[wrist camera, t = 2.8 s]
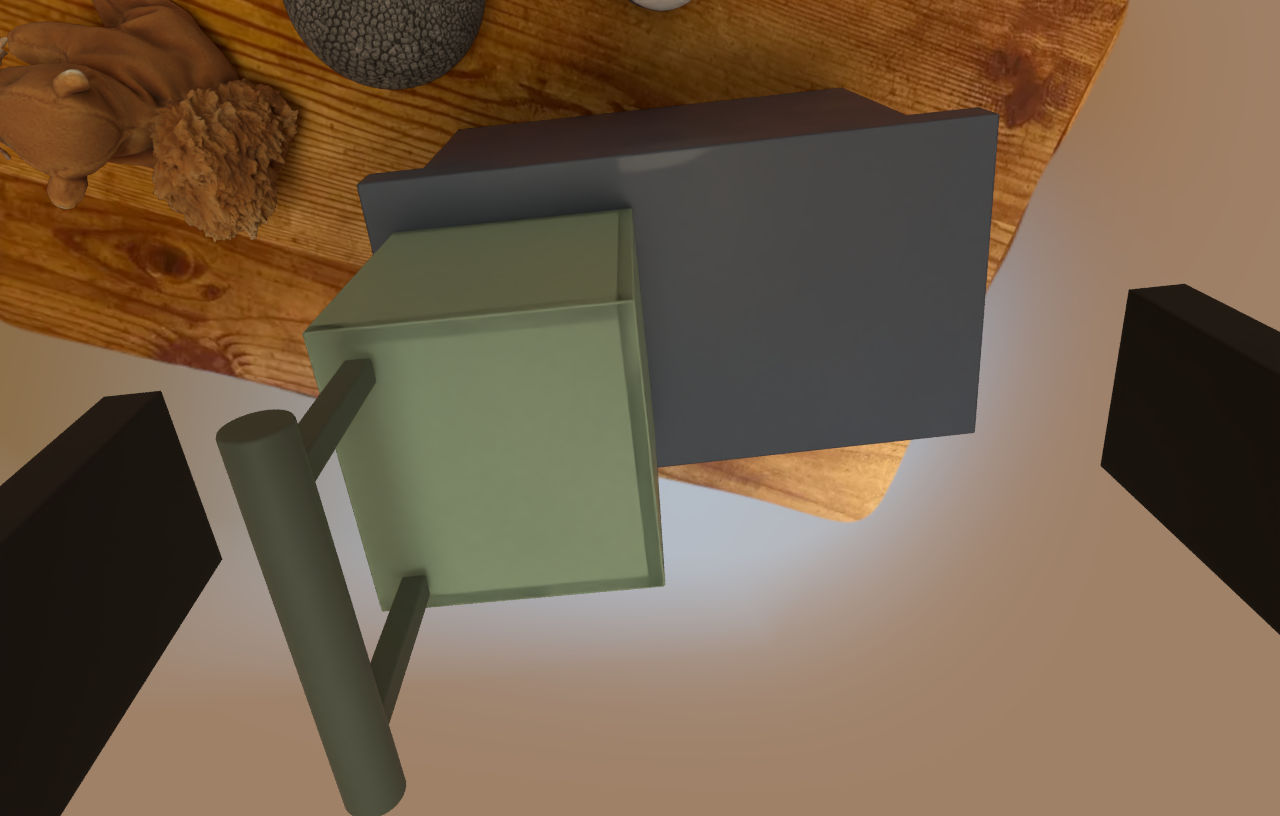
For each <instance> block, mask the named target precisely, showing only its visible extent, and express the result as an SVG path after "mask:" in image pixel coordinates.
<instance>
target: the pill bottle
mask: <svg viewBox="0 0 1280 816" xmlns="http://www.w3.org/2000/svg"><path fill="white" fill-rule="evenodd" d="M629 1H630V2H632V3H634V4H636V5H638V6H640V7H643V8H647V9H650V10H656V11H667V10H672V9H676V8H678V7H681V6H683V5H685V4H687V3H688V2H690V1H691V0H629Z"/></svg>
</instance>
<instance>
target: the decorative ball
mask: <svg viewBox="0 0 1280 816" xmlns="http://www.w3.org/2000/svg"><path fill="white" fill-rule="evenodd" d="M283 2H284V5H285V8H286V10H287V13H288V15H289V17H290V20H291V22H292V24H293V26H294V27H295V29H296V31H297V33H298V34H299V36H300V37H301V38H302V40H303V41H304V42H305V44H306V45H307V46H308V47H309V49H310V50H311V51H312V52H313V53H314V54H315V55H316V56H317V57H318V58H319V59H320V60H322V61H323V62H324V63H325V64H326V65H328V66H329V67H330V68H332V69H333V70H334V71H336V72H337V73H339V74H341V75H342V76H344V77H346V78H348V79H350V80H352V81H355V82H357V83H360V84H363V85H366V86H370V87H374V88H380V89H391V90H395V89H407V88H413V87H417V86H421V85H424V84H426V83H429V82H431V81H433V80H436V79H437V78H439V77H441V76H443V75H444V74H445V73H447V72H448V71H449V70H451V69H452V68H453V67H454V66H455V65H456V64H457V63H458V62H459V61H460V60H461V59H462V58H463V57H464V55H465V54H466V53H467V51H468V50H469V48H470V47H471V45H472V44H473V42H474V40H475V38H476V36H477V34H478V31H479V28H480V25H481V22H482V18H483V14H484V8H485V0H283Z"/></svg>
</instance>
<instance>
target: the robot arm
mask: <svg viewBox="0 0 1280 816" xmlns="http://www.w3.org/2000/svg"><path fill="white" fill-rule="evenodd" d="M1101 467H1102V468H1104V469H1105V470H1106V471H1107V472H1108V473H1109V474H1110V475H1111V476H1112V477H1113V478H1114V479H1115V480H1117V482H1118V483H1120V484H1121V485H1122V486H1123V487H1124V488H1125V489H1126V490H1127V491H1128V492H1129V493H1130V494H1131V495H1132V496H1134V498H1135V499H1136V500H1138V501H1139V502H1140V503H1141V504H1142V505H1143V506H1144V507H1145V508H1146V509H1147V510H1148V511H1149V512H1150V513H1151V514H1152V515H1153V516H1154V517H1155V518H1157V519H1158V520H1159V521H1160V522H1161V523H1162V524H1163V525H1164V526H1165V527H1166V528H1167V529H1168V530H1169V531H1170V532H1171V533H1172V534H1174V535H1175V536H1176V537H1177V538H1178V539H1179V540H1180V541H1181V542H1182V543H1183V544H1184V545H1185V546H1186V547H1187V548H1188V549H1189V550H1190V551H1192V552H1193V553H1194V554H1195V555H1196V556H1197V557H1198V558H1199V559H1200V560H1201V561H1202V562H1203V563H1204V564H1205V565H1206V566H1208V567H1209V568H1210V569H1211V570H1212V571H1213V572H1214V573H1215V574H1216V575H1217V576H1218V577H1219V578H1220V579H1221V580H1222V581H1223V582H1224V583H1226V584H1227V585H1228V586H1229V587H1230V588H1231V589H1232V590H1233V591H1234V592H1235V593H1236V594H1237V595H1238V596H1239V597H1240V598H1241V599H1242V600H1243V601H1245V602H1246V603H1247V604H1248V605H1249V606H1250V607H1251V608H1252V609H1253V610H1254V611H1255V612H1256V613H1257V614H1258V615H1259V616H1261V617H1262V618H1263V619H1264V620H1265V621H1266V622H1267V623H1268V624H1269V625H1270V626H1271V627H1272V628H1273V629H1274V630H1275V631H1276V632H1277V633H1278V634H1280V332H1279V331H1277V330H1275V329H1273V328H1271V327H1269V326H1267V325H1265V324H1263V323H1261V322H1259V321H1257V320H1255V319H1253V318H1251V317H1249V316H1247V315H1245V314H1243V313H1241V312H1239V311H1237V310H1235V309H1233V308H1231V307H1230V306H1228V305H1226V304H1224V303H1222V302H1220V301H1218V300H1216V299H1214V298H1212V297H1210V296H1208V295H1206V294H1204V293H1202V292H1200V291H1198V290H1196V289H1194V288H1192V287H1190V286H1188V285H1186V284H1179V285H1169V286H1160V287H1150V288H1140V289H1131V290H1129V292H1128V298H1127V304H1126V311H1125V317H1124V323H1123V329H1122V336H1121V342H1120V348H1119V354H1118V361H1117V367H1116V373H1115V379H1114V386H1113V392H1112V398H1111V404H1110V410H1109V416H1108V423H1107V429H1106V435H1105V441H1104V448H1103V454H1102V460H1101ZM221 560H222V557H221V555H220V552H219V549H218V546H217V543H216V541H215V538H214V535H213V533H212V530H211V527H210V524H209V521H208V519H207V516H206V513H205V510H204V508H203V505H202V502H201V499H200V497H199V494H198V491H197V488H196V486H195V483H194V481H193V478H192V475H191V472H190V469H189V466H188V464H187V461H186V458H185V455H184V453H183V450H182V447H181V444H180V442H179V439H178V436H177V434H176V431H175V428H174V425H173V422H172V420H171V417H170V414H169V411H168V409H167V406H166V403H165V400H164V398H163V395H162V392H161V391H155V392H145V393H136V394H127V395H117V396H107V397H103V398H102V399H101V400H100V401H99V402H97V403H96V404H95V405H94V406H93V407H92V408H90V409H89V410H88V411H87V412H86V413H85V414H84V415H82V416H81V417H80V418H79V419H78V420H76V421H75V422H74V423H73V424H72V425H71V426H70V427H68V428H67V429H66V430H65V431H64V432H63V433H61V434H60V435H59V436H58V437H57V438H56V439H54V440H53V441H52V442H51V443H50V444H49V445H47V446H46V447H45V448H44V449H43V450H42V451H40V452H39V453H38V454H37V455H36V456H35V457H33V458H32V459H31V460H30V461H29V462H28V463H27V464H25V465H24V466H23V467H22V468H21V469H20V470H18V471H17V472H16V473H15V474H14V475H13V476H11V477H10V478H9V479H8V480H7V481H6V482H5V483H3V484H2V485H1V486H0V816H61V814H62V812H63V811H64V809H65V808H66V806H67V805H68V803H69V801H70V800H71V798H72V796H73V795H74V793H75V792H76V790H77V788H78V787H79V786H80V784H81V782H82V781H83V779H84V778H85V776H86V774H87V773H88V771H89V770H90V768H91V766H92V765H93V763H94V762H95V760H96V759H97V757H98V755H99V754H100V752H101V751H102V749H103V747H104V746H105V744H106V743H107V741H108V739H109V738H110V736H111V735H112V733H113V732H114V730H115V728H116V727H117V725H118V724H119V722H120V721H121V719H122V717H123V716H124V714H125V713H126V711H127V709H128V708H129V706H130V705H131V703H132V701H133V700H134V698H135V697H136V695H137V694H138V692H139V690H140V689H141V687H142V685H143V684H144V682H145V681H146V679H147V677H148V676H149V675H150V673H151V671H152V669H153V668H154V667H155V665H156V663H157V662H158V660H159V659H160V657H161V656H162V654H163V652H164V651H165V649H166V647H167V646H168V644H169V643H170V641H171V640H172V638H173V636H174V635H175V633H176V632H177V630H178V629H179V627H180V625H181V624H182V622H183V620H184V619H185V617H186V616H187V614H188V613H189V611H190V609H191V608H192V606H193V605H194V603H195V602H196V600H197V598H198V597H199V595H200V594H201V592H202V591H203V589H204V587H205V586H206V584H207V583H208V581H209V579H210V577H211V576H212V575H213V573H214V571H215V570H216V568H217V567H218V565H219V563H220V562H221Z"/></svg>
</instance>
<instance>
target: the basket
mask: <svg viewBox="0 0 1280 816" xmlns="http://www.w3.org/2000/svg"><path fill="white" fill-rule="evenodd" d="M303 337H304V341H305V344H306V348H307V351H308V354H309V358H310V361H311V365H312V368H313V372H314V375H315V379H316V382H317V386H318V389H319V393H320V395H319V396H318V397H317V399H316V400H315V401H314V403H313V404H312V406H311V407H310V408H309V410H308V411H307V412H306V414H305V415H304V417H303V418H302V419H301V421H300V422H299V423H297V420H296V417H295V416H294V415H293V414H292V413H291V412H289V411H286V410H265V411H259V412H254V413H251V414H247V415H245V416H242V417H239V418H237V419H235V420H233V421H231V422H229V423H227V424H226V425H224V426H223V427H222V428H221V429H220V430H219V431H218V432H217V435H216V442H217V445H218V448H219V451H220V453H221V456H222V459H223V462H224V465H225V468H226V470H227V473H228V476H229V479H230V482H231V485H232V487H233V490H234V493H235V496H236V498H237V502H238V504H239V507H240V510H241V513H242V516H243V519H244V521H245V524H246V527H247V530H248V533H249V536H250V539H251V541H252V544H253V547H254V550H255V553H256V556H257V558H258V561H259V564H260V567H261V570H262V573H263V575H264V578H265V581H266V584H267V586H268V590H269V593H270V595H271V598H272V601H273V604H274V606H275V610H276V612H277V615H278V618H279V621H280V624H281V627H282V630H283V632H284V635H285V638H286V641H287V644H288V646H289V649H290V652H291V655H292V658H293V661H294V664H295V666H296V669H297V672H298V675H299V678H300V681H301V683H302V686H303V689H304V692H305V695H306V698H307V701H308V703H309V706H310V709H311V712H312V715H313V718H314V720H315V723H316V726H317V729H318V732H319V734H320V737H321V740H322V743H323V746H324V749H325V752H326V754H327V757H328V760H329V763H330V766H331V769H332V772H333V774H334V777H335V780H336V783H337V786H338V789H339V791H340V794H341V797H342V800H343V803H344V806H345V808H346V810H347V811H348V812H349V813H350V814H351V815H352V816H381V815H383V814H385V813H387V812H389V811H390V810H391V809H393V808H394V807H395V806H396V805H397V804H398V803H399V801H400V800H401V799H402V797H403V795H404V792H405V789H406V780H405V777H404V774H403V770H402V767H401V763H400V760H399V757H398V753H397V750H396V747H395V744H394V740H393V737H392V734H391V731H390V727H389V723H390V719H391V716H392V713H393V710H394V707H395V704H396V701H397V697H398V694H399V691H400V688H401V685H402V681H403V678H404V675H405V671H406V669H407V666H408V663H409V659H410V656H411V652H412V650H413V646H414V643H415V640H416V637H417V634H418V631H419V628H420V624H421V621H422V618H423V615H424V612H425V608H428V607H439V606H450V605H461V604H473V603H483V602H495V601H505V600H516V599H528V598H540V597H551V596H562V595H572V594H584V593H595V592H606V591H617V590H629V589H639V588H651V587H662V586H664V585H665V573H664V558H663V543H662V529H661V514H660V500H659V484H658V469H657V454H656V439H655V427H654V417H653V407H652V398H651V388H650V378H649V369H648V359H647V349H646V339H645V330H644V320H643V310H642V300H641V291H640V281H639V271H638V262H637V252H636V242H635V232H634V223H633V213H632V209H631V208H629V209H619V210H610V211H600V212H590V213H580V214H570V215H561V216H551V217H541V218H531V219H522V220H512V221H502V222H492V223H482V224H473V225H463V226H453V227H443V228H433V229H424V230H414V231H404V232H394V233H393V234H392V235H391V236H390V237H389V238H388V239H387V240H386V242H385V243H384V244H383V245H382V246H381V247H380V248H379V249H378V250H377V252H376V253H375V254H374V255H373V256H372V257H371V258H370V259H369V260H368V261H367V263H366V264H365V265H364V266H363V267H362V268H361V269H360V270H359V271H358V272H357V274H356V275H355V276H354V277H353V278H352V279H351V280H350V281H349V282H348V284H347V285H346V286H345V287H344V288H343V289H342V290H341V291H340V292H339V293H338V295H337V296H336V297H335V298H334V299H333V300H332V301H331V302H330V303H329V305H328V306H327V307H326V308H325V309H324V310H323V311H322V312H321V313H320V314H319V316H318V317H317V318H316V319H315V320H314V321H313V322H312V323H311V324H310V326H309V327H308V328H307V329H306V330H305V331H304V332H303ZM335 449H336V452H337V455H338V459H339V463H340V466H341V470H342V473H343V476H344V480H345V483H346V487H347V490H348V494H349V497H350V501H351V505H352V508H353V512H354V515H355V519H356V522H357V526H358V529H359V533H360V536H361V540H362V543H363V546H364V550H365V553H366V557H367V561H368V564H369V567H370V571H371V575H372V578H373V581H374V585H375V589H376V592H377V595H378V599H379V603H380V606H381V609H382V611H390V612H389V615H388V617H387V620H386V623H385V625H384V628H383V631H382V634H381V636H380V639H379V641H378V644H377V647H376V650H375V652H374V655H373V658H372V660H371V663H370V661H369V658H368V654H367V651H366V648H365V645H364V641H363V638H362V635H361V632H360V628H359V625H358V621H357V618H356V615H355V612H354V608H353V605H352V602H351V598H350V595H349V592H348V589H347V585H346V582H345V579H344V575H343V572H342V569H341V565H340V562H339V559H338V555H337V552H336V549H335V546H334V543H333V539H332V536H331V533H330V529H329V526H328V522H327V519H326V516H325V513H324V509H323V506H322V503H321V500H320V496H319V493H318V490H317V486H316V483H315V481H316V479H317V478H318V476H319V475H320V473H321V471H322V470H323V468H324V466H325V465H326V463H327V461H328V460H329V458H330V457H331V455H332V453H333V452H334V450H335Z"/></svg>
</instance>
